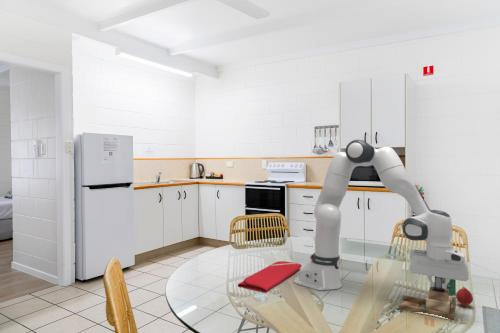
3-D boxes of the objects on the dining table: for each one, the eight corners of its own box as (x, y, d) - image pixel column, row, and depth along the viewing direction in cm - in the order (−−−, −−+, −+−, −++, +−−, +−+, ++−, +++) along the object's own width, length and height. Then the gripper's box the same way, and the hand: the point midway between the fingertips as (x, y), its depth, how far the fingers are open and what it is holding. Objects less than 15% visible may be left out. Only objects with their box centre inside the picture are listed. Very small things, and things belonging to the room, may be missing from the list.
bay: (398, 309, 142) (398, 296, 142) (403, 299, 152) (403, 287, 152) (454, 321, 131) (454, 307, 131) (455, 309, 141) (455, 297, 141)
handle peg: (434, 297, 139) (434, 271, 139) (434, 295, 141) (435, 270, 141) (441, 299, 138) (442, 273, 137) (442, 296, 140) (442, 271, 140)
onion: (466, 303, 148) (466, 284, 148) (476, 309, 142) (476, 289, 142) (453, 303, 148) (453, 284, 148) (461, 309, 142) (461, 289, 142)
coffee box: (438, 289, 164) (438, 260, 164) (444, 289, 165) (444, 260, 165) (449, 295, 156) (450, 265, 156) (456, 295, 157) (456, 265, 157)
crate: (425, 311, 138) (426, 291, 138) (428, 305, 145) (428, 285, 145) (449, 316, 134) (449, 295, 134) (450, 309, 141) (451, 289, 140)
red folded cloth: (236, 287, 167) (236, 279, 167) (276, 266, 202) (276, 259, 202) (266, 294, 159) (266, 285, 159) (302, 270, 194) (302, 263, 194)
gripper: (408, 250, 142) (408, 285, 142) (469, 258, 131) (468, 295, 131) (411, 247, 147) (410, 280, 148) (469, 254, 136) (468, 290, 137)
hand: (438, 287), depth 139 cm, fingers closed on handle peg, 3 cm apart
